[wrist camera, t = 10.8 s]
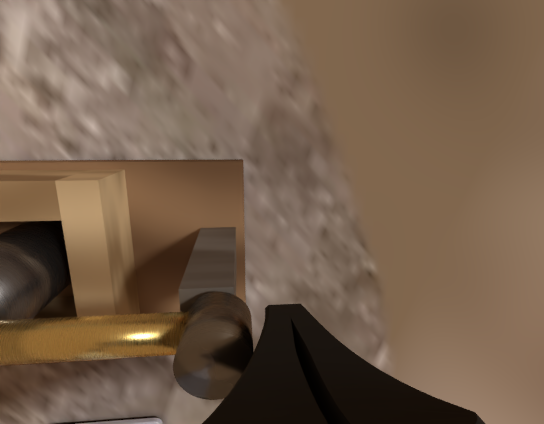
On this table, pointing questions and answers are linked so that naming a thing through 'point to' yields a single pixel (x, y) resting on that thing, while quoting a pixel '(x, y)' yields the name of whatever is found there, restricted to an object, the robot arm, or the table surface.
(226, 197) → the dock
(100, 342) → the lock bolt
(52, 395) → the table surface
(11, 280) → the black rounded block
